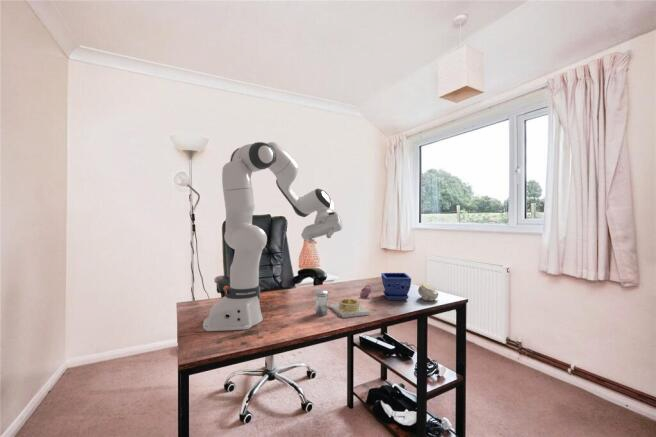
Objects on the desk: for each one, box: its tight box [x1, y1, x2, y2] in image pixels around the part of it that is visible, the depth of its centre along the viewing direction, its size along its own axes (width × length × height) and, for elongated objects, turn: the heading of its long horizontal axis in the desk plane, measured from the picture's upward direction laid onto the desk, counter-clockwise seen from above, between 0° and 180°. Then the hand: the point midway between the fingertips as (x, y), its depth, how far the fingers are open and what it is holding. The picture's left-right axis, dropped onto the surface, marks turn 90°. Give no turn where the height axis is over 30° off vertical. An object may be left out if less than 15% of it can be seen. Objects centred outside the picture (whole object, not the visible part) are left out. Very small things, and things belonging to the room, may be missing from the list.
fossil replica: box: [417, 282, 439, 302], centre depth 145 cm, size 12×8×10 cm
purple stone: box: [359, 283, 373, 298], centre depth 152 cm, size 10×5×7 cm, turn 169°
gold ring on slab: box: [329, 298, 371, 319], centre depth 128 cm, size 13×15×4 cm
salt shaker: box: [315, 288, 329, 317], centre depth 123 cm, size 5×5×10 cm
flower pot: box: [381, 272, 412, 301], centre depth 148 cm, size 13×13×12 cm
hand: (319, 239), depth 129 cm, fingers open, 8 cm apart
